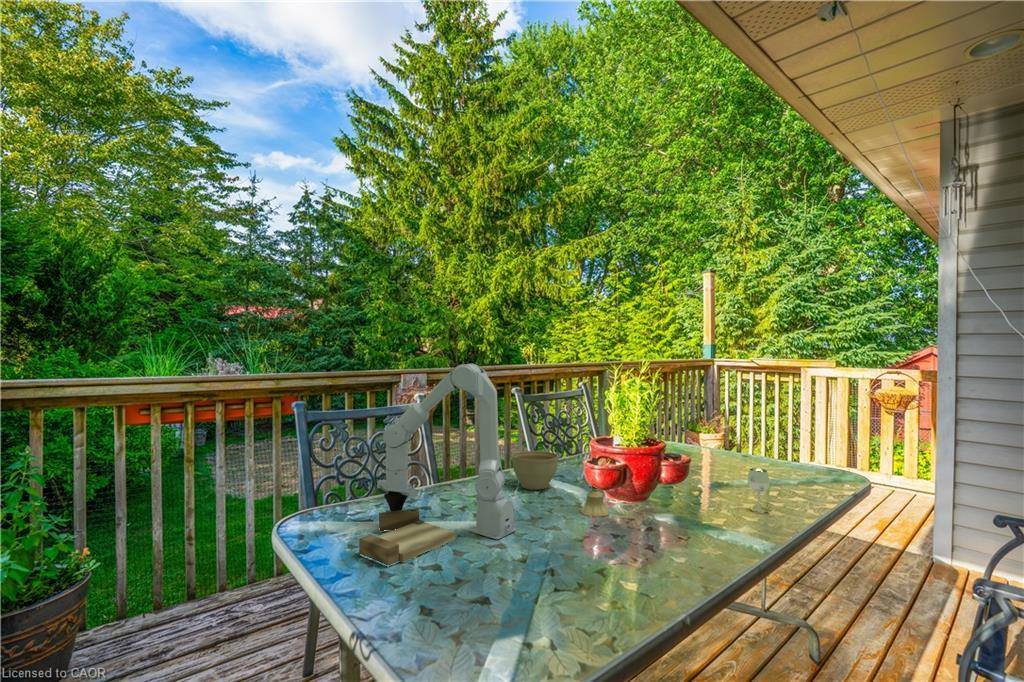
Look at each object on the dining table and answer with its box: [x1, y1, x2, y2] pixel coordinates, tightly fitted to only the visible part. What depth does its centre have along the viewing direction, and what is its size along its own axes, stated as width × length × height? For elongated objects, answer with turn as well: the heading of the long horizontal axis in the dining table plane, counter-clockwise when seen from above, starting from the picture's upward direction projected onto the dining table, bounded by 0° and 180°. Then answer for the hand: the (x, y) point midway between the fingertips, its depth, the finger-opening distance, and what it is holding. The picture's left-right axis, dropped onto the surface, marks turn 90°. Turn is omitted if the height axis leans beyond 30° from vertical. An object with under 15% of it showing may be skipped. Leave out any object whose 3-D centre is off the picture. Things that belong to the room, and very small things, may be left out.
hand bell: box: [580, 457, 610, 518], centre depth 144 cm, size 8×8×16 cm
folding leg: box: [378, 507, 420, 532], centre depth 130 cm, size 3×10×4 cm, turn 113°
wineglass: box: [747, 467, 770, 512], centre depth 147 cm, size 6×6×12 cm
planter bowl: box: [511, 450, 559, 490], centre depth 171 cm, size 16×16×11 cm
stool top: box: [358, 519, 457, 565], centre depth 118 cm, size 13×20×4 cm, turn 144°
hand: (396, 519), depth 133 cm, fingers closed
